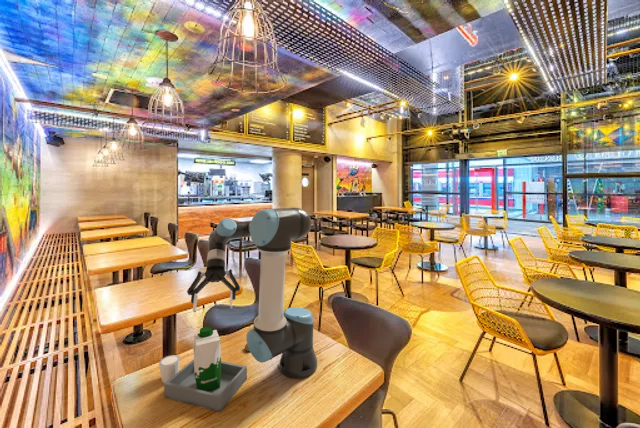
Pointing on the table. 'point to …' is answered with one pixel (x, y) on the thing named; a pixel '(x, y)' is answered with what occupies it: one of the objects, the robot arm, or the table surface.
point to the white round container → (169, 367)
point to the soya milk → (207, 359)
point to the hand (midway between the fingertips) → (213, 309)
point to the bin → (187, 392)
